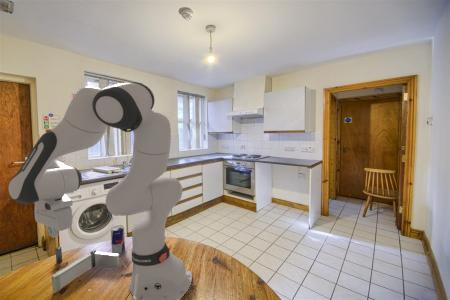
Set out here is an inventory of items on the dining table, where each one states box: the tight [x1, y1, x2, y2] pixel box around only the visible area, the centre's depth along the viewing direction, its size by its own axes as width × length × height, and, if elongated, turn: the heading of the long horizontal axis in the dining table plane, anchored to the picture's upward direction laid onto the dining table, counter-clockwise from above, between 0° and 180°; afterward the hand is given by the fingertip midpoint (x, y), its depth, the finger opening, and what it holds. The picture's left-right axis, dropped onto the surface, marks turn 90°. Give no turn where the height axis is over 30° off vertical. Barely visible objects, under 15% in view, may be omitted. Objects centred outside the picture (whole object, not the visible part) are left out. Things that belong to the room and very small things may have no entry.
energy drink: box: [110, 224, 126, 256], centre depth 94 cm, size 5×5×12 cm
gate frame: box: [54, 246, 120, 271], centre depth 85 cm, size 29×2×6 cm, turn 81°
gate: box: [51, 253, 93, 293], centre depth 77 cm, size 13×2×5 cm, turn 162°
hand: (53, 236), depth 77 cm, fingers closed
